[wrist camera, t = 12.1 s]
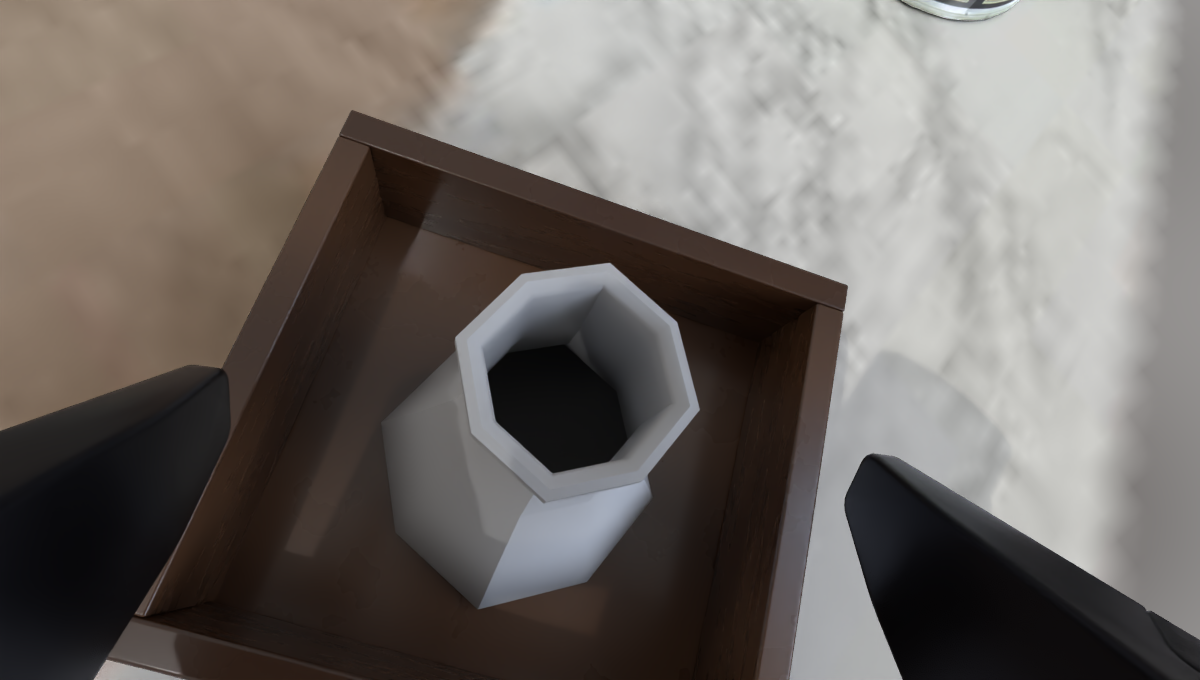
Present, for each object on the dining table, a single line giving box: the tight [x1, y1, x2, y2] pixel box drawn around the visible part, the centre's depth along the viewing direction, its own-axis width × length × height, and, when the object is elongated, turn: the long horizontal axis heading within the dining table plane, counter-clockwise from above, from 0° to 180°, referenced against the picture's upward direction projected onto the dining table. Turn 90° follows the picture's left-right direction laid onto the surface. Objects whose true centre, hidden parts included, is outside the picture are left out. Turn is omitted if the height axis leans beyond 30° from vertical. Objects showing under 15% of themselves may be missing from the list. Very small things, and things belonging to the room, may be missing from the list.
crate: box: [107, 110, 848, 680], centre depth 17 cm, size 13×14×4 cm
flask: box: [381, 263, 700, 609], centre depth 13 cm, size 7×7×10 cm
